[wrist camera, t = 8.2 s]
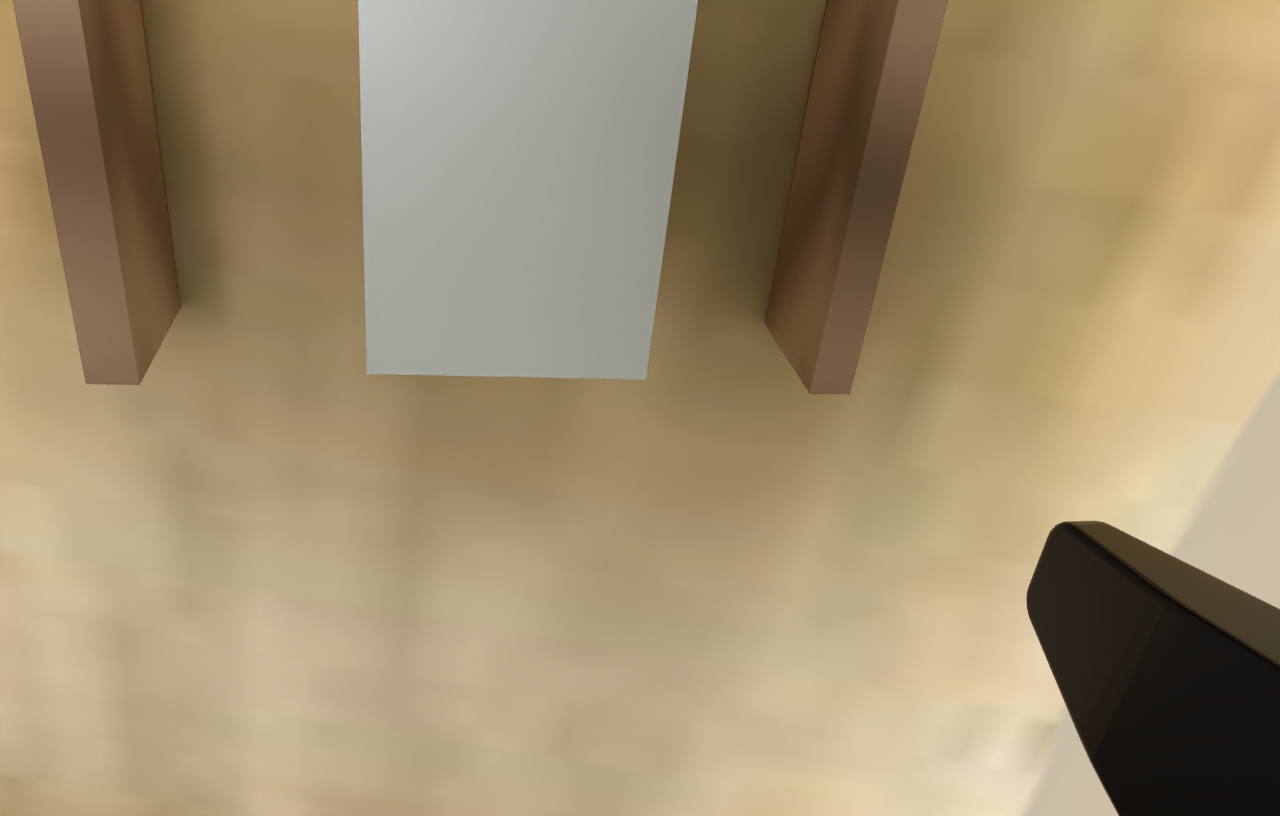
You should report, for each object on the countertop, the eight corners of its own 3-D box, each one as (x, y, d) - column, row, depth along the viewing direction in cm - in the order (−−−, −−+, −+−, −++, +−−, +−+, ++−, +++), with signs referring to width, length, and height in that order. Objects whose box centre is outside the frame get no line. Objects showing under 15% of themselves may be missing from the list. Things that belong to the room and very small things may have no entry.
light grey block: (599, 255, 20) (646, 379, 15) (383, 245, 19) (365, 373, 14) (635, -90, 17) (705, -57, 12) (378, -122, 16) (355, -98, 11)
